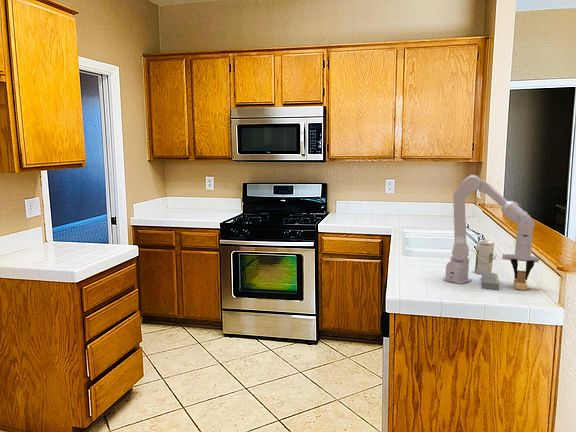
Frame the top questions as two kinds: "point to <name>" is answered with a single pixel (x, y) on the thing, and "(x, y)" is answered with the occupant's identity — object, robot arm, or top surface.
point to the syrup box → (484, 256)
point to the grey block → (490, 281)
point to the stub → (520, 280)
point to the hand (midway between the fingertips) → (520, 278)
